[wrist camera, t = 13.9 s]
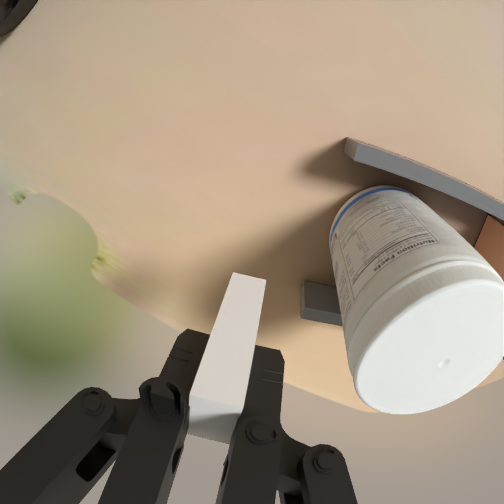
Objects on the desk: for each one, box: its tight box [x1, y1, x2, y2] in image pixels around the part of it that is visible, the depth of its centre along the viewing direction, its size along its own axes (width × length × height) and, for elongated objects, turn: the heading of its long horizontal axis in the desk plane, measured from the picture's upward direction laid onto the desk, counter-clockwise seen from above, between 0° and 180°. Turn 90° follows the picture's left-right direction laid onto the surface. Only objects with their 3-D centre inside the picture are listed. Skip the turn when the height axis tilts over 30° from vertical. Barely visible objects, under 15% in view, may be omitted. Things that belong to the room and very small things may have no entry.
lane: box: [300, 137, 504, 360], centre depth 20 cm, size 26×14×7 cm, turn 79°
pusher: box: [474, 215, 504, 282], centre depth 20 cm, size 4×11×7 cm, turn 169°
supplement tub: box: [329, 185, 504, 414], centre depth 17 cm, size 10×10×15 cm
